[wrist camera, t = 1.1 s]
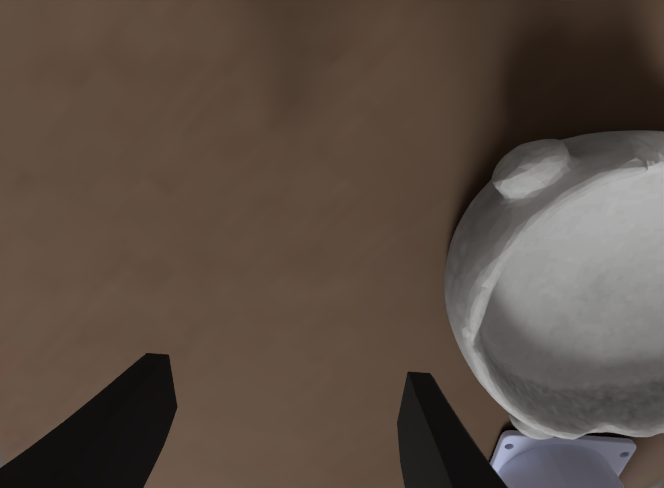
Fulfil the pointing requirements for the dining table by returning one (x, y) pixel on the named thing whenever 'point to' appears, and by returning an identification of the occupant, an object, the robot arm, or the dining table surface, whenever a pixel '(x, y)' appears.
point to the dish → (567, 285)
